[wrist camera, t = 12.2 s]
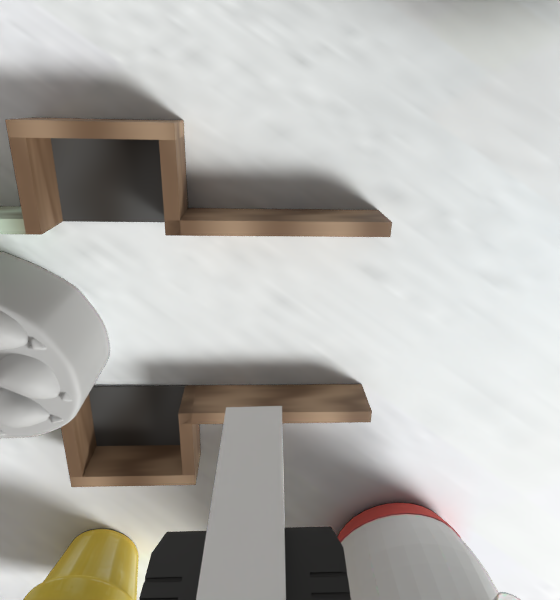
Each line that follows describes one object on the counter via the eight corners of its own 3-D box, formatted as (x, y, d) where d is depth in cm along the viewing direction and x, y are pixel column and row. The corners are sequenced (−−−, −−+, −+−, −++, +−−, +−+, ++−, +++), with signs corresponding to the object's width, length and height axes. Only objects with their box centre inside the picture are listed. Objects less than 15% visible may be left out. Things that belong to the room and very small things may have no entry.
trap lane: (386, 124, 34) (402, 126, 30) (355, 450, 45) (364, 481, 41) (-169, 113, 32) (-223, 115, 29) (-64, 456, 43) (-95, 489, 39)
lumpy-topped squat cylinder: (-33, 231, 36) (-117, 269, 28) (133, 311, 39) (100, 366, 31) (-73, 342, 39) (-159, 405, 31) (82, 408, 42) (41, 481, 34)
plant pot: (28, 529, 46) (-27, 633, 37) (129, 500, 46) (98, 599, 37) (79, 600, 50) (40, 709, 41) (173, 574, 49) (154, 680, 40)
